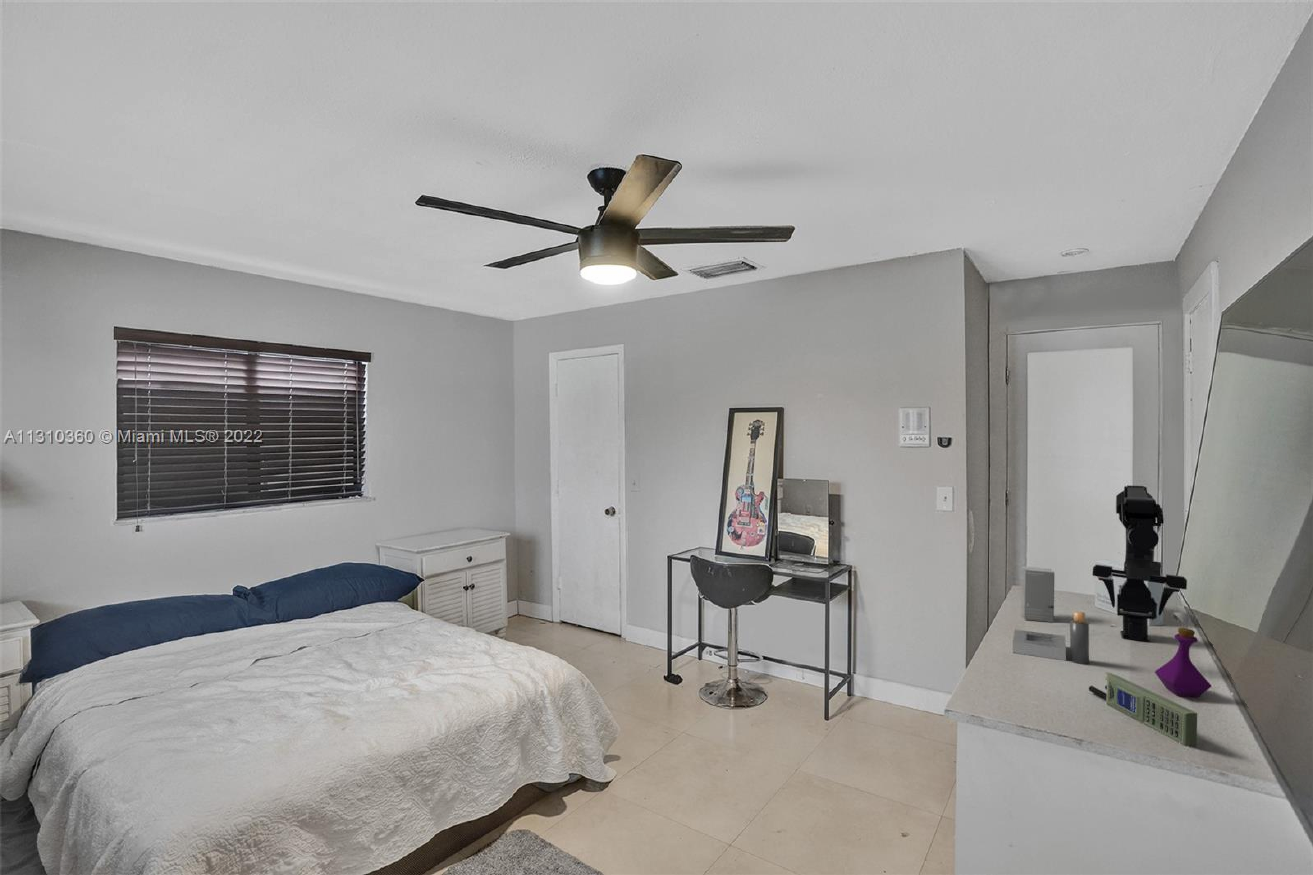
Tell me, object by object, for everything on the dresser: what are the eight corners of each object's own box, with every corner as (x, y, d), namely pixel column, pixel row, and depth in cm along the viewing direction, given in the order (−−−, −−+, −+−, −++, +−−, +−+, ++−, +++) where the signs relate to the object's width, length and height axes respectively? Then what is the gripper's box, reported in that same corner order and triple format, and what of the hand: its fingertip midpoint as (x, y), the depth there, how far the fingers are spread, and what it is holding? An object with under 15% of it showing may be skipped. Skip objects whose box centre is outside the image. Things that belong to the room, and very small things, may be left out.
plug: (1070, 657, 167) (1069, 610, 167) (1088, 660, 165) (1088, 612, 165) (1070, 662, 164) (1070, 613, 164) (1089, 665, 162) (1088, 616, 162)
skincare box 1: (1024, 620, 200) (1024, 569, 200) (1020, 614, 207) (1020, 565, 207) (1055, 623, 197) (1055, 571, 197) (1051, 616, 204) (1050, 567, 204)
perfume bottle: (1212, 701, 140) (1211, 618, 140) (1173, 698, 141) (1172, 617, 141) (1191, 687, 147) (1190, 609, 147) (1154, 685, 149) (1153, 608, 149)
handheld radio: (1184, 748, 120) (1083, 694, 145) (1200, 748, 120) (1097, 694, 145) (1185, 712, 120) (1084, 664, 145) (1201, 712, 120) (1097, 664, 145)
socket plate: (1015, 640, 182) (1015, 629, 182) (1065, 647, 175) (1065, 636, 175) (1012, 652, 172) (1012, 641, 172) (1065, 660, 165) (1065, 648, 165)
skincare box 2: (1093, 607, 214) (1092, 559, 214) (1108, 606, 214) (1107, 559, 214) (1148, 626, 193) (1147, 573, 193) (1164, 625, 194) (1164, 572, 193)
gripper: (1093, 543, 161) (1088, 606, 160) (1189, 555, 149) (1185, 623, 148) (1095, 543, 169) (1092, 602, 168) (1187, 554, 158) (1183, 618, 157)
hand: (1136, 611), depth 160 cm, fingers open, 9 cm apart
